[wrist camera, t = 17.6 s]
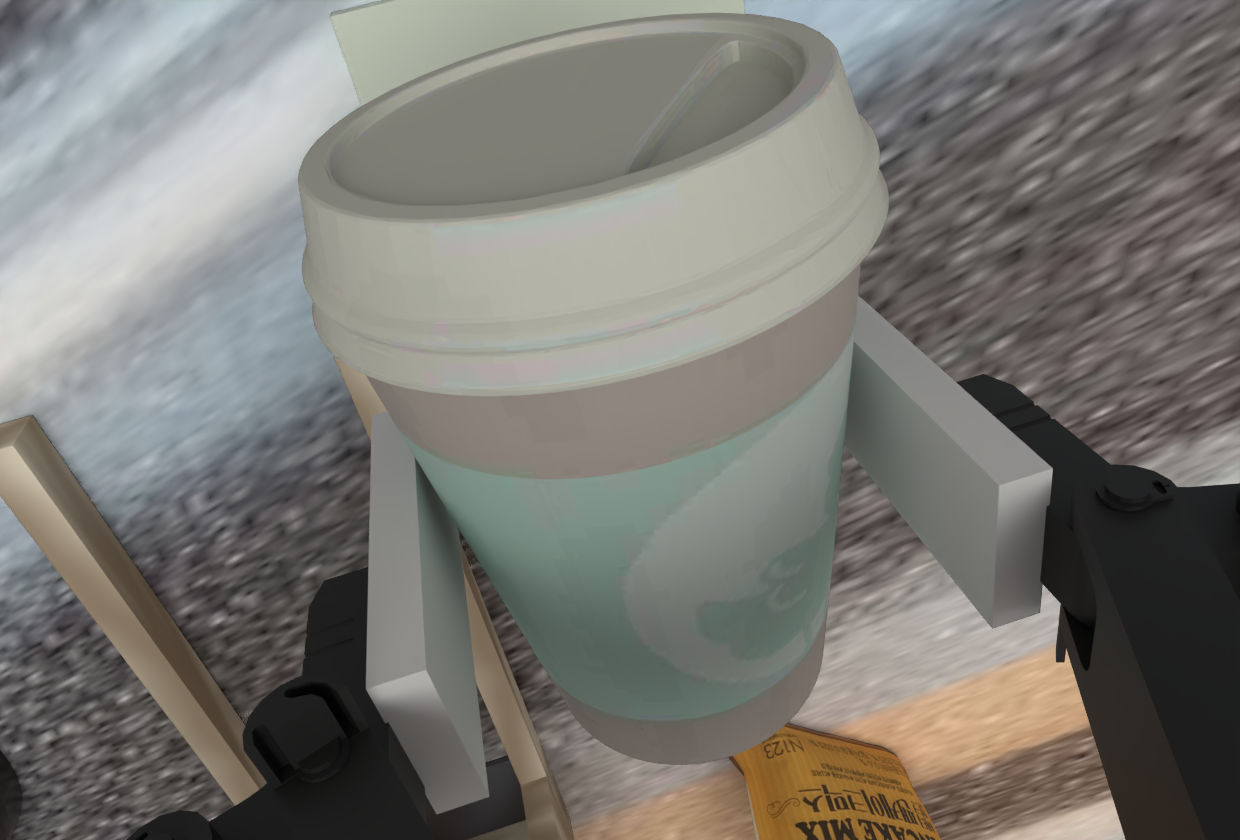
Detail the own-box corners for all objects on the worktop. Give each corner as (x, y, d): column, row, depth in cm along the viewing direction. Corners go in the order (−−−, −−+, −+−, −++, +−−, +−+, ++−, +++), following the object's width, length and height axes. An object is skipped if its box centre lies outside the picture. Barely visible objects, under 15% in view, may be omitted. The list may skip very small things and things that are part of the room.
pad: (454, 365, 37) (456, 376, 37) (331, 12, 30) (329, 16, 29) (765, 275, 39) (774, 284, 38) (724, -86, 31) (734, -85, 30)
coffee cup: (667, 943, 15) (441, 339, 7) (431, 650, 21) (179, 158, 13) (982, 637, 18) (1035, 20, 11) (701, 461, 24) (615, -12, 17)
